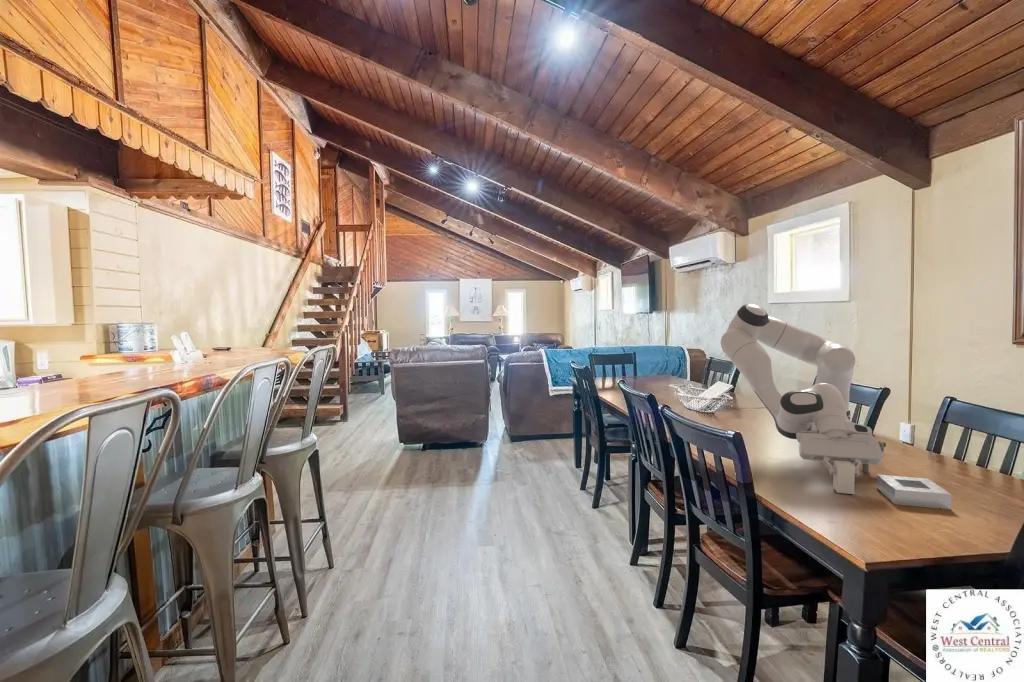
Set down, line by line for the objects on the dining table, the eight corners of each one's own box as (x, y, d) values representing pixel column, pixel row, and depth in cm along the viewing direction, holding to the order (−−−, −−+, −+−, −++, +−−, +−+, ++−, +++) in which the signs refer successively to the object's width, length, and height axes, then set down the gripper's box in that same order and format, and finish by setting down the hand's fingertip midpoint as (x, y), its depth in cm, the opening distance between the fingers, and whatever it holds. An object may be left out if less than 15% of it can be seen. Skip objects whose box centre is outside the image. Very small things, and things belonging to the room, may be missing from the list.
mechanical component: (886, 474, 149) (887, 442, 148) (849, 472, 151) (850, 441, 150) (880, 471, 152) (881, 440, 151) (844, 469, 154) (845, 439, 153)
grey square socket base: (876, 488, 138) (876, 474, 137) (927, 492, 134) (928, 478, 134) (894, 504, 126) (895, 489, 126) (950, 509, 122) (951, 494, 122)
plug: (832, 487, 138) (833, 460, 137) (849, 488, 136) (849, 461, 136) (837, 492, 134) (838, 464, 133) (854, 494, 133) (854, 465, 132)
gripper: (796, 424, 144) (804, 466, 135) (877, 428, 137) (891, 472, 129) (793, 434, 149) (800, 476, 140) (871, 439, 142) (883, 483, 133)
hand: (844, 474), depth 134 cm, fingers closed on plug, 4 cm apart
